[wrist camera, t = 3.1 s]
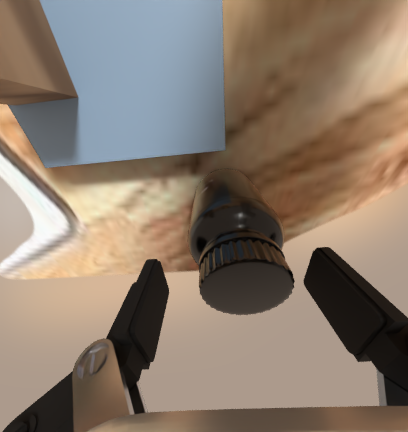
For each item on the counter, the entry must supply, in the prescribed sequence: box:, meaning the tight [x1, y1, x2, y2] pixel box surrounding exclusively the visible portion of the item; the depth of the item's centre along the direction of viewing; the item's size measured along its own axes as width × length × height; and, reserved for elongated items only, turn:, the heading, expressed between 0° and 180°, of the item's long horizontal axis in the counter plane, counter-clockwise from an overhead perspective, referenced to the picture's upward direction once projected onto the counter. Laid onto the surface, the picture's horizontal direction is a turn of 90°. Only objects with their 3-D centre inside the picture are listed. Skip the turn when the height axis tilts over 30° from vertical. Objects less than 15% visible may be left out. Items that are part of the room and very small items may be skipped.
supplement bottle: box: [188, 169, 294, 315], centre depth 13 cm, size 7×7×12 cm
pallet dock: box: [8, 0, 225, 168], centre depth 11 cm, size 16×12×3 cm
